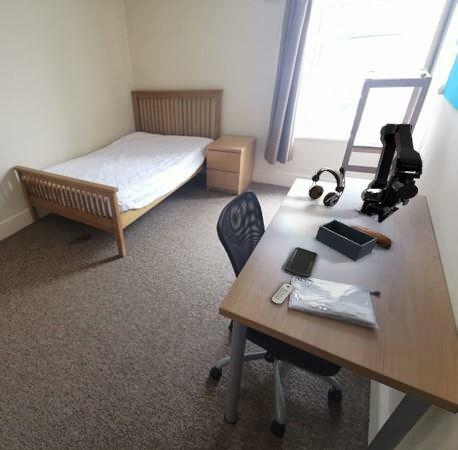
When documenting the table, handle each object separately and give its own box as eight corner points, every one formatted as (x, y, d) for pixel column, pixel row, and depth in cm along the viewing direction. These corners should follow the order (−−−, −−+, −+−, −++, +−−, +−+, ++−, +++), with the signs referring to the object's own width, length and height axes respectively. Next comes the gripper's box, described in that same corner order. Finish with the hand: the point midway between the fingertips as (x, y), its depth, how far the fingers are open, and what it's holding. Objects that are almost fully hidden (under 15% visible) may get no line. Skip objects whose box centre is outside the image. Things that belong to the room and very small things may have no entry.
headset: (342, 209, 132) (357, 169, 121) (330, 212, 130) (344, 171, 119) (314, 194, 146) (325, 157, 135) (302, 197, 144) (312, 160, 133)
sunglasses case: (392, 239, 109) (397, 230, 104) (386, 253, 108) (391, 245, 102) (340, 224, 120) (343, 216, 115) (334, 237, 118) (336, 229, 113)
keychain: (285, 281, 92) (294, 286, 90) (285, 282, 92) (294, 287, 90) (270, 299, 85) (280, 304, 84) (270, 300, 86) (279, 305, 84)
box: (330, 232, 116) (334, 219, 112) (371, 252, 104) (377, 238, 100) (315, 239, 112) (319, 225, 109) (355, 261, 100) (362, 246, 97)
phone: (284, 267, 97) (296, 246, 107) (284, 270, 97) (295, 248, 107) (309, 276, 92) (318, 253, 102) (308, 278, 93) (318, 255, 103)
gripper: (386, 175, 115) (372, 208, 124) (359, 186, 108) (346, 220, 117) (417, 185, 107) (400, 219, 115) (390, 196, 100) (374, 232, 108)
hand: (379, 222), depth 114 cm, fingers closed
